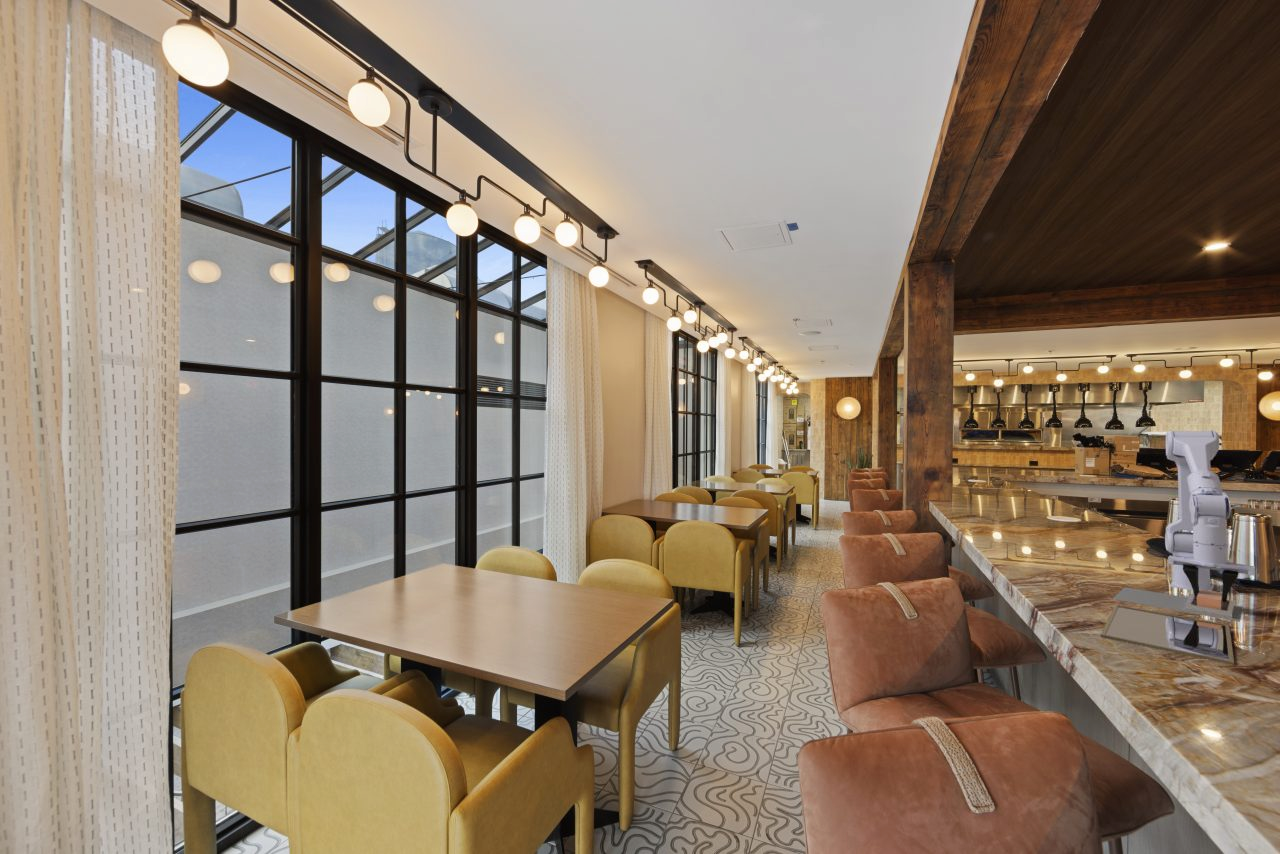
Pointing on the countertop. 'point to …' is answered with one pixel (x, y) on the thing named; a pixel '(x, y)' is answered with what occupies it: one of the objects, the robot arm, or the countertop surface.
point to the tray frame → (1211, 611)
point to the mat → (1166, 601)
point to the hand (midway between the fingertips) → (1210, 598)
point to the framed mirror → (1170, 633)
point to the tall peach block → (1210, 599)
